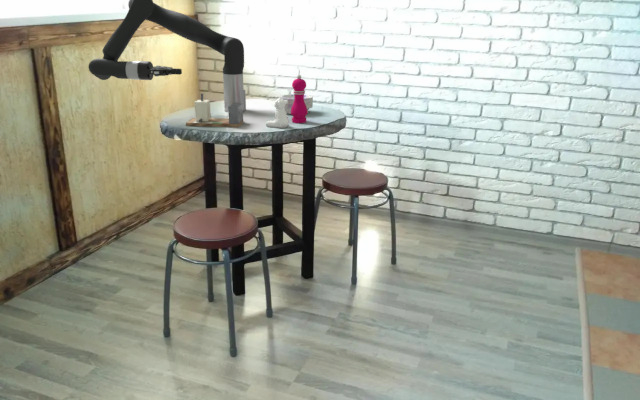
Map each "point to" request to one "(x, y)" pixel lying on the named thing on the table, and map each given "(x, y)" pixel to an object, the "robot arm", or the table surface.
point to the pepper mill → (299, 101)
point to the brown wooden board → (213, 123)
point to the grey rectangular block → (235, 113)
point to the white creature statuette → (279, 115)
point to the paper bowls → (290, 98)
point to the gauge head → (202, 110)
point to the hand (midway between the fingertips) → (181, 71)
